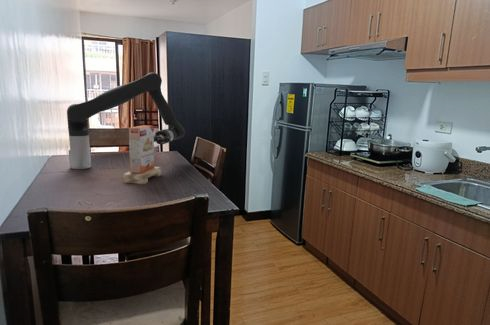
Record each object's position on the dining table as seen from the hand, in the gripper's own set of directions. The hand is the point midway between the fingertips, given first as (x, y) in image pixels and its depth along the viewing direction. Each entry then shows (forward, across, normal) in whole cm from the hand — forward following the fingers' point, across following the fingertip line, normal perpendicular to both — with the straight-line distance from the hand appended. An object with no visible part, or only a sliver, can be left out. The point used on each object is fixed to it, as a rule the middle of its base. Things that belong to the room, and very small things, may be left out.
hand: (150, 140), depth 159 cm
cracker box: (+8, 0, +13) cm, 15 cm away
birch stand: (+8, 0, +17) cm, 19 cm away
